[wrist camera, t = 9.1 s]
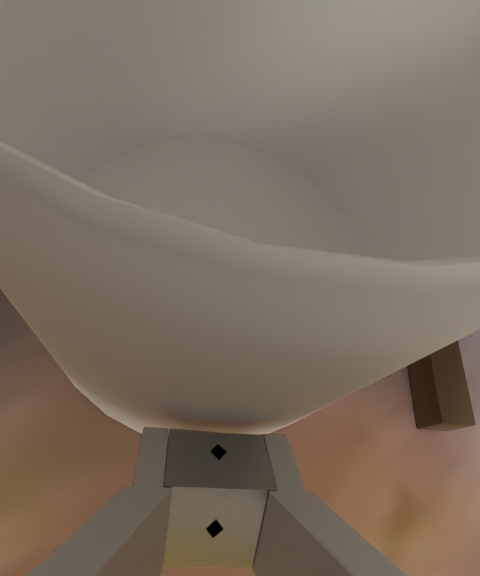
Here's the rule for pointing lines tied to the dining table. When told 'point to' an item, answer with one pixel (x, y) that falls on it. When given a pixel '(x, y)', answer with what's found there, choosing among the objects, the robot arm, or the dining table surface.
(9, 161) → the cup
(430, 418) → the corral
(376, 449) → the dining table surface
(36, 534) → the dining table surface
